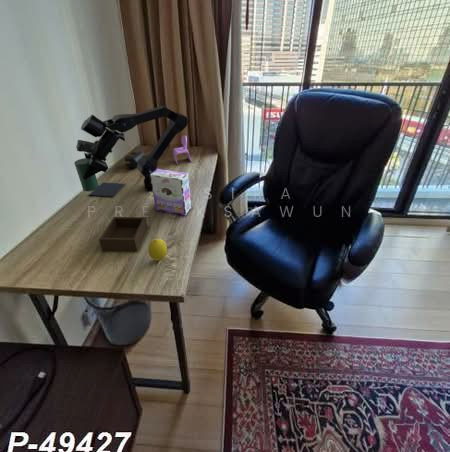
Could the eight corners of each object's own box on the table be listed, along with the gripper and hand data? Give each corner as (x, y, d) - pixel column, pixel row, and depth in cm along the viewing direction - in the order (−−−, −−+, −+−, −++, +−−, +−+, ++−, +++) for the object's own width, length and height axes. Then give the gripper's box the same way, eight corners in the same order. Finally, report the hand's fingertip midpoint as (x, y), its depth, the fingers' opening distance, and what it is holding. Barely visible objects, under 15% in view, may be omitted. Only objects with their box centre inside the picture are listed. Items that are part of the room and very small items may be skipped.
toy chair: (173, 160, 146) (170, 135, 139) (188, 157, 149) (186, 133, 142) (177, 165, 139) (174, 140, 132) (192, 162, 142) (190, 137, 135)
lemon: (152, 253, 81) (148, 234, 77) (169, 252, 81) (166, 233, 78) (148, 267, 76) (144, 247, 72) (167, 265, 76) (164, 245, 73)
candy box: (192, 208, 103) (189, 172, 96) (185, 216, 98) (181, 179, 91) (162, 202, 107) (157, 167, 100) (155, 209, 102) (149, 174, 95)
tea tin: (101, 186, 103) (94, 160, 97) (88, 193, 99) (79, 165, 93) (93, 182, 106) (85, 156, 100) (80, 189, 102) (71, 162, 96)
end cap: (138, 170, 135) (136, 158, 131) (126, 169, 136) (123, 157, 133) (146, 162, 143) (144, 151, 140) (135, 161, 144) (133, 150, 141)
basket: (116, 227, 92) (113, 216, 90) (147, 227, 92) (145, 217, 90) (102, 250, 82) (98, 239, 80) (137, 251, 82) (134, 239, 80)
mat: (103, 183, 122) (102, 182, 122) (124, 184, 121) (124, 183, 120) (89, 195, 112) (89, 194, 112) (112, 197, 111) (112, 196, 111)
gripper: (83, 126, 101) (60, 157, 100) (90, 139, 87) (63, 176, 86) (108, 140, 108) (87, 170, 108) (118, 155, 94) (94, 188, 94)
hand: (83, 175), depth 99 cm, fingers closed on tea tin, 6 cm apart
